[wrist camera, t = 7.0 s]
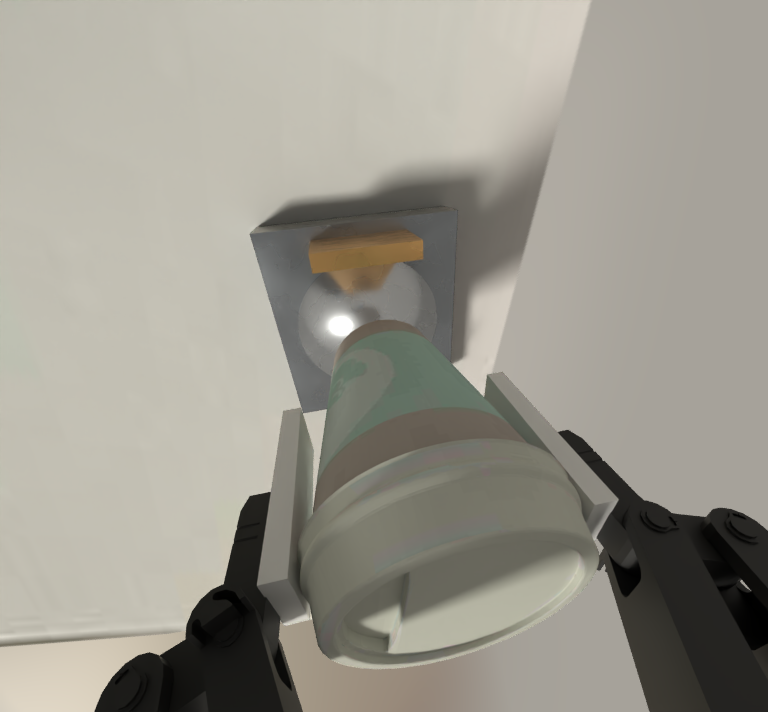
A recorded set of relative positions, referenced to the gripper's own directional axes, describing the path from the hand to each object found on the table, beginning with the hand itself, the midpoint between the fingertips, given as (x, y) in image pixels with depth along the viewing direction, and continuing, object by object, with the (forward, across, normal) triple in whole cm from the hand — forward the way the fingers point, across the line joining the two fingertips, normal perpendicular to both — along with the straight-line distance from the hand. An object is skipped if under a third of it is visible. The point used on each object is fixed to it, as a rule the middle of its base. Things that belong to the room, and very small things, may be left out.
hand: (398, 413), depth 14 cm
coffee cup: (+5, 0, 0) cm, 5 cm away
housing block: (+12, 0, 0) cm, 12 cm away
